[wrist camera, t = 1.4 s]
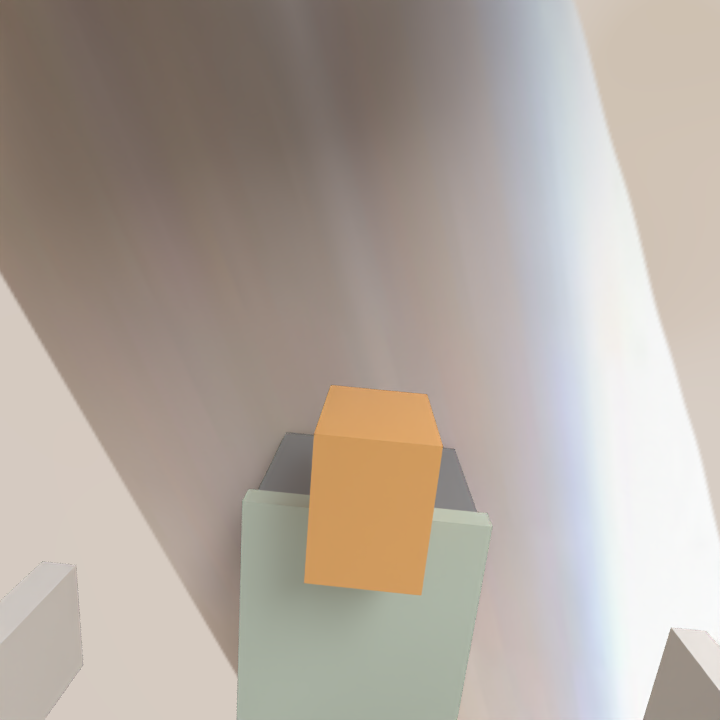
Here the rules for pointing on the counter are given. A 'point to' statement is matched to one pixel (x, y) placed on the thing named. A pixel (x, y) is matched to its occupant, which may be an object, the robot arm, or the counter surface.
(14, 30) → the counter surface
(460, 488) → the tub
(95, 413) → the counter surface
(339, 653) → the lid
